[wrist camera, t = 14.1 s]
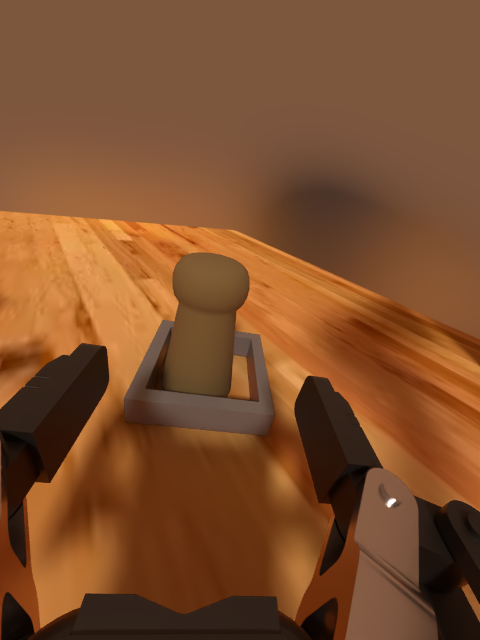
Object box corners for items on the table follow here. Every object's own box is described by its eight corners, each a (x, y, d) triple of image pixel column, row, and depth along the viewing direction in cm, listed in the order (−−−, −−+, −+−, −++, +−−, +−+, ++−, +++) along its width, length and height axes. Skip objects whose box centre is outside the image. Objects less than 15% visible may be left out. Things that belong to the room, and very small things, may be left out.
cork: (244, 389, 21) (279, 271, 16) (185, 423, 17) (203, 280, 12) (205, 351, 25) (222, 243, 19) (148, 372, 21) (149, 243, 15)
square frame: (254, 351, 26) (259, 334, 25) (266, 435, 18) (275, 415, 16) (161, 338, 25) (162, 319, 24) (125, 421, 16) (123, 398, 15)
